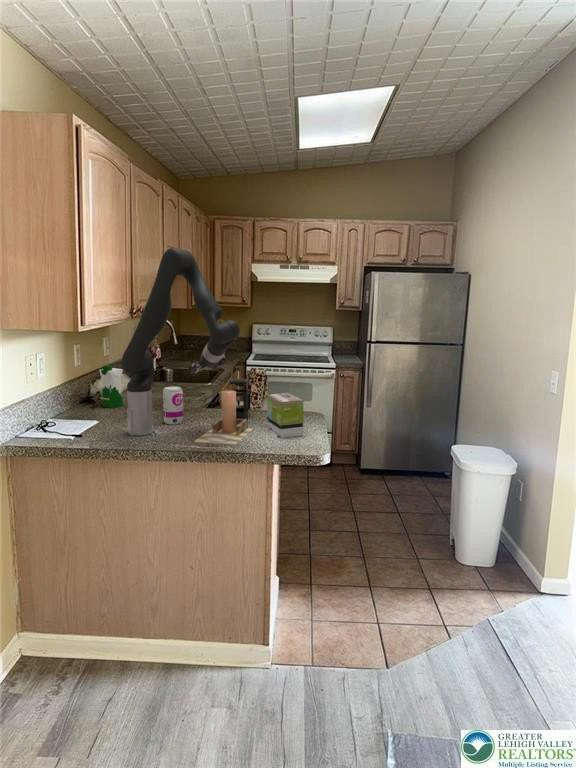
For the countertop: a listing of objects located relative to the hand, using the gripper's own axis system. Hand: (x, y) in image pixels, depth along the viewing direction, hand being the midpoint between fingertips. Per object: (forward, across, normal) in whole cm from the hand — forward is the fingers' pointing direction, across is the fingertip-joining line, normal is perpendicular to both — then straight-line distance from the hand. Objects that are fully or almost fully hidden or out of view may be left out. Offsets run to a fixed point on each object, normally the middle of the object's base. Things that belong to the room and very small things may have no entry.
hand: (203, 371), depth 215 cm
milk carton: (+62, +25, -17) cm, 69 cm away
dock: (+1, +2, +28) cm, 28 cm away
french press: (+24, -17, +17) cm, 34 cm away
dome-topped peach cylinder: (+4, -2, +26) cm, 26 cm away
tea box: (-2, -21, +35) cm, 41 cm away
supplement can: (+26, +11, +10) cm, 30 cm away
